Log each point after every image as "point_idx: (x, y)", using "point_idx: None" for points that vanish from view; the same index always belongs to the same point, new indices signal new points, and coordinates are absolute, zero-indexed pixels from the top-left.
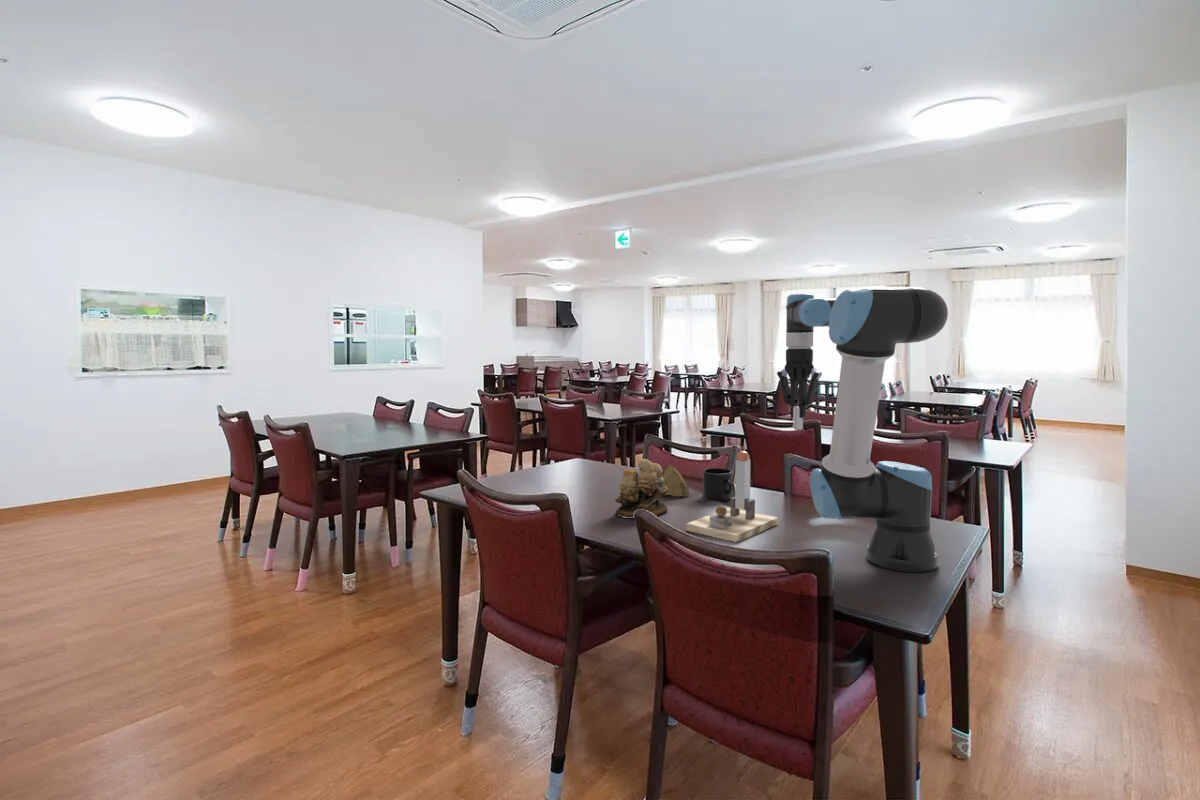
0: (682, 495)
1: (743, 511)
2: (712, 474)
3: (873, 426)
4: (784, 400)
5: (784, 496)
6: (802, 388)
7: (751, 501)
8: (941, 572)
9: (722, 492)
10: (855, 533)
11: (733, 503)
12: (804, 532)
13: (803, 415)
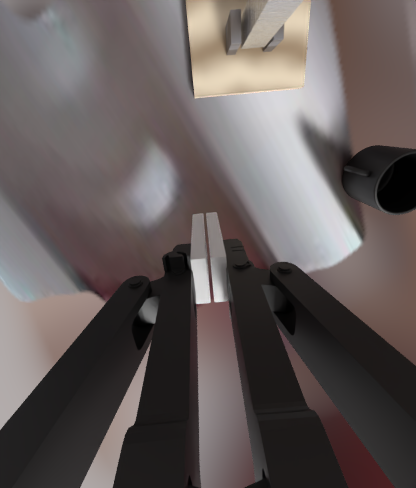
0: None
1: (267, 80)
2: (408, 151)
3: None
4: (300, 271)
5: (275, 259)
6: (151, 367)
7: (230, 22)
8: None
9: (359, 161)
10: (82, 154)
11: None
12: (134, 89)
13: (173, 250)
